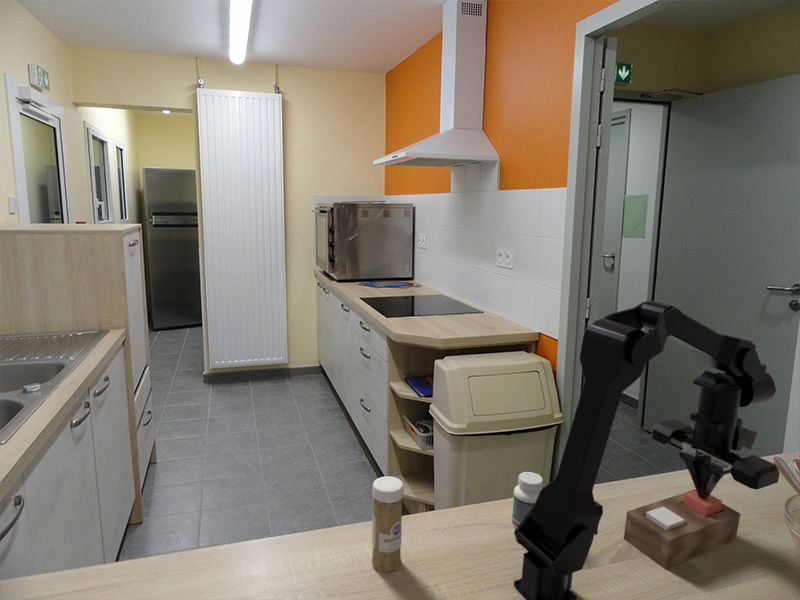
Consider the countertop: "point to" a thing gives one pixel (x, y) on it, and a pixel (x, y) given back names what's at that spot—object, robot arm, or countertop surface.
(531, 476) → the pill bottle
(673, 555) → the socket block
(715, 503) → the red plug
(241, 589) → the countertop surface
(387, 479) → the sprinkles bottle
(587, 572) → the countertop surface
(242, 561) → the countertop surface
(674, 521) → the grey plug
